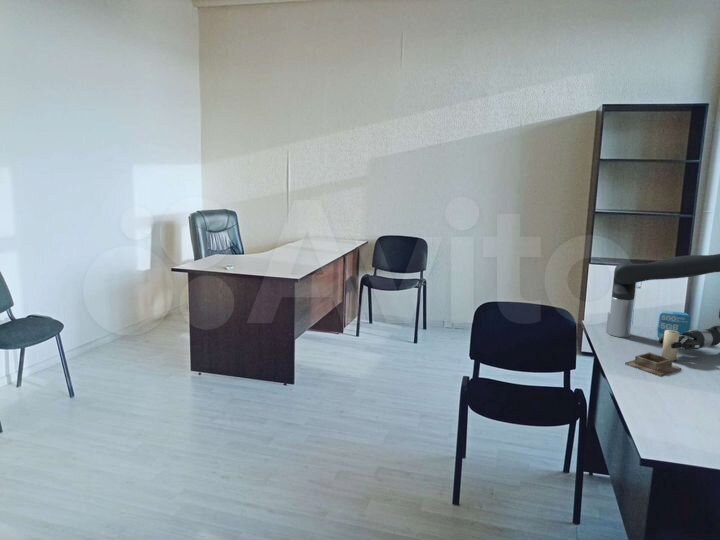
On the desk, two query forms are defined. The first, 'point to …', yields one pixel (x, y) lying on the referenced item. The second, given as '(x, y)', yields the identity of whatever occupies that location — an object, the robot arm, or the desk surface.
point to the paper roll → (670, 338)
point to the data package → (672, 322)
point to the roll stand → (653, 364)
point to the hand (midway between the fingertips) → (665, 343)
